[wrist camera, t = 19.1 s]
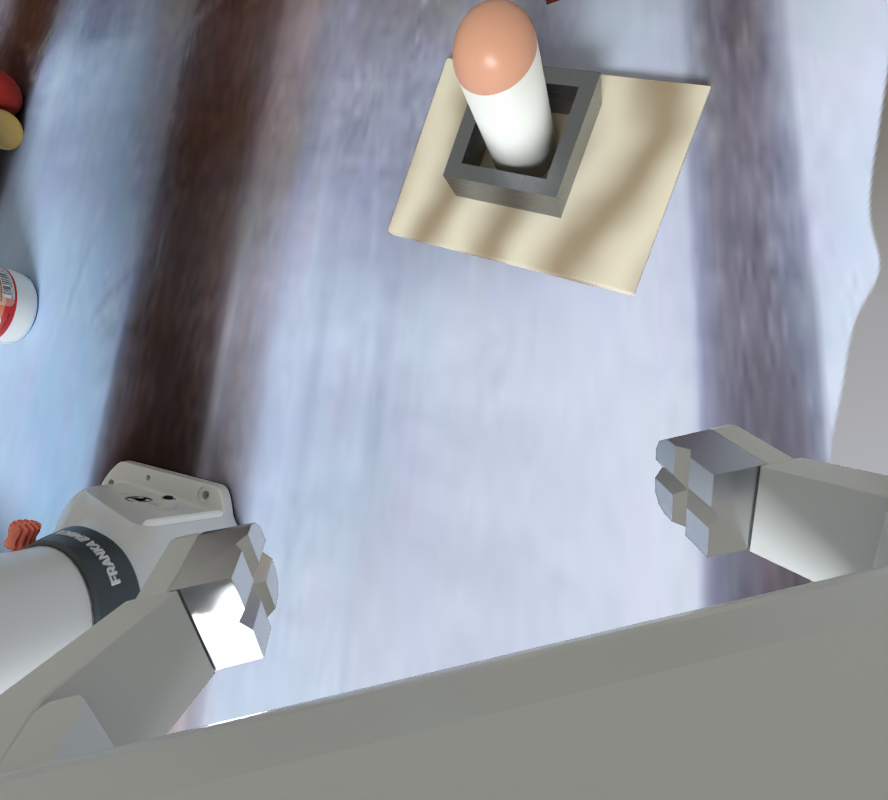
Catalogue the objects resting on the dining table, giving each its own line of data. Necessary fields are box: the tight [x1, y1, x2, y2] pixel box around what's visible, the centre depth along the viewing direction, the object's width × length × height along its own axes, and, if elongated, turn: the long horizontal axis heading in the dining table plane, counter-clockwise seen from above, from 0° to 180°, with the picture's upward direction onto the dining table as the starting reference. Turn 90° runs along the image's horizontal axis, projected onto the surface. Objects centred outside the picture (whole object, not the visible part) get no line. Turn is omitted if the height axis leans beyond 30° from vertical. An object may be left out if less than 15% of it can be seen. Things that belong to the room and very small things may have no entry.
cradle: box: [443, 67, 602, 218], centre depth 38 cm, size 9×9×4 cm
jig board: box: [388, 58, 711, 296], centre depth 40 cm, size 22×16×1 cm
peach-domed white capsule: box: [452, 0, 557, 178], centre depth 34 cm, size 5×5×14 cm
